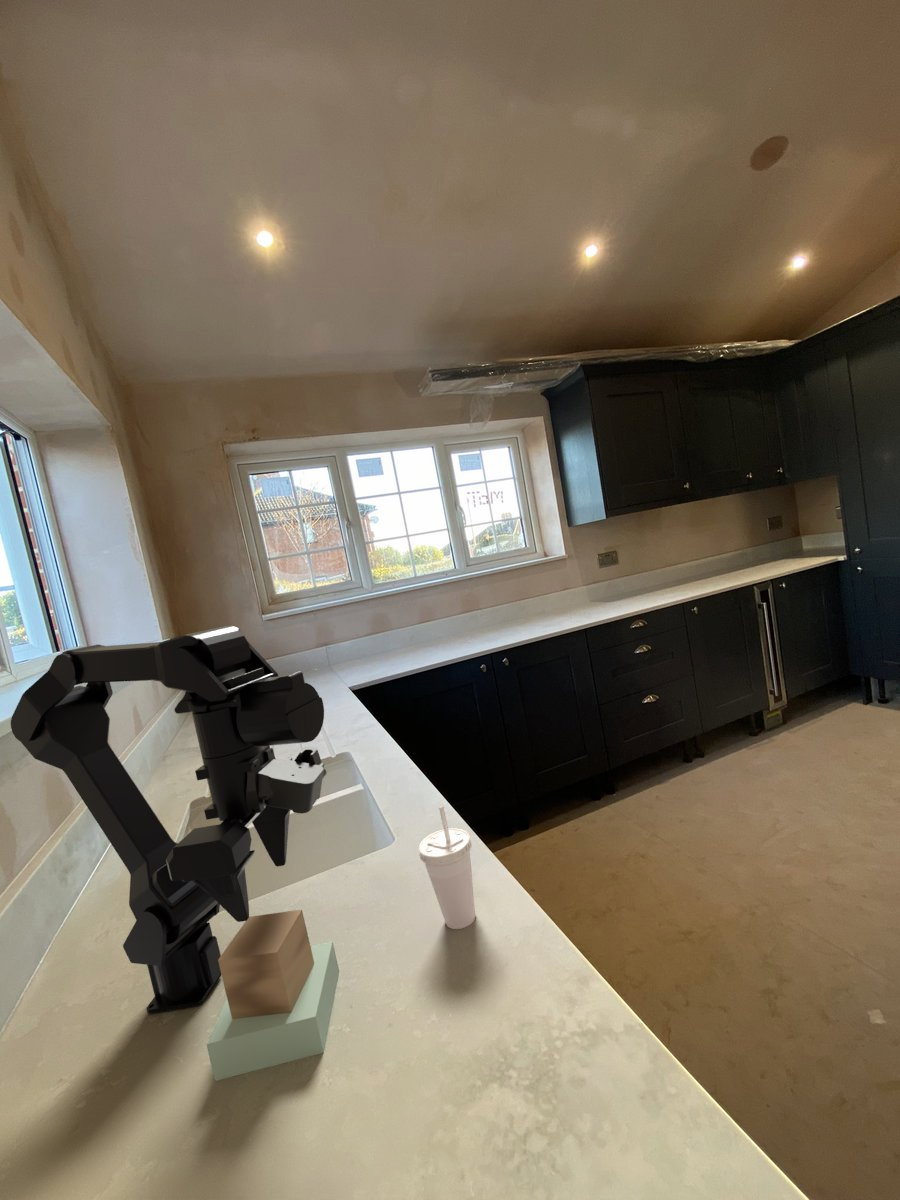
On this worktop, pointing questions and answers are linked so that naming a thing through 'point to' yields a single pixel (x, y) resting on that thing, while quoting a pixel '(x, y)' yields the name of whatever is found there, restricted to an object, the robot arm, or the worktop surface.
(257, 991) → the walnut cube
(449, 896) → the smoothie
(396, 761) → the worktop surface
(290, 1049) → the sage box
